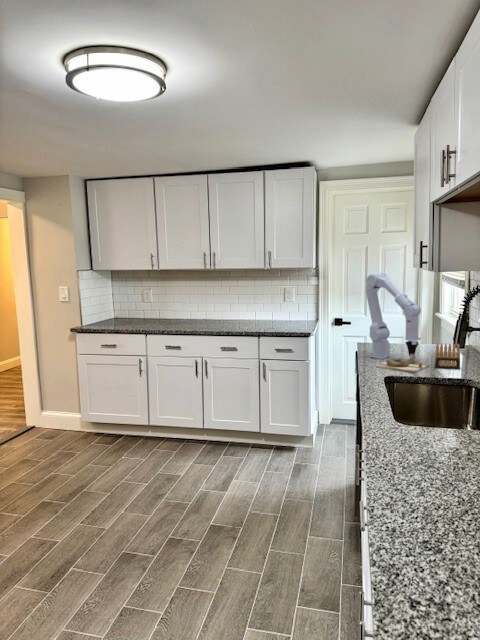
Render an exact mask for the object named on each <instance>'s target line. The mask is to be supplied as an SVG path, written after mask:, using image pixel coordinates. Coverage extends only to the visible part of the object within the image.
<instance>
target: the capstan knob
mask: <svg viewBox="0 0 480 640" xmlns="http://www.w3.org/2000/svg"><path fill="white" fill-rule="evenodd" d="M415 354H416V353H415ZM415 354H410V356H409V359H405V358H389V359H387V360H386V361H387V365H390V366H397V367H402V366H408V365H409V362H411V363H414V362H415V357H416V356H415ZM415 363H416V362H415Z"/></svg>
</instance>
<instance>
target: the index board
mask: <svg viewBox="0 0 480 640" xmlns="http://www.w3.org/2000/svg"><path fill="white" fill-rule="evenodd" d="M375 367H376V368H377V369H383V370H391V371H396V372H397V371H398V372H402V373H408V374H416V373H418V372H421V371H422V370H426V369H427V368H430V364H427V363H423V362H414V363H411V362H409V365H408V366H402V367H397V366H390V365H387V360H386V361H383V362H381V363H378V364H376V365H375Z"/></svg>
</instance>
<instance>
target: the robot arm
mask: <svg viewBox="0 0 480 640" xmlns="http://www.w3.org/2000/svg"><path fill="white" fill-rule="evenodd" d="M365 283H366V286H365V293H366V294H365V295H366V301H367V304H368V309H369V315H370V319H371V325H370V326H369V338H370V339H371V341H372V344H371V345H372V349H371V351H372V354H371V355H369V356H368V357H369V358H372V357H373V359H380V360H383V359H386V358H389V357H392V354H391V350H390V349H391V343H390V342H389V340H388V338H389V337H390V334H391V332H390V329H389V328H388V325H387V323H386V322H384V320H383V316H382V310H381V305H380V300H379V296H378V292H379V290H380V289H381V288H383V289H385V290H386V291H387V292H388V293H390V294H391V296H393V298H394V302H395V303H396V304H397V305H398V306H399V307H400V308H401V309H402V310H403V311H402V312H403V315H404V317H405V337H404V339H405V340H406V341H405V344H406V347H407V352H408V356H409V357H410V354H416V350H417V347H418V346H419V342H418V341H419V340H421V339H422V338H421V337H419V315H420V314H421V313H422V308H421V306H420V305H419V304H418V303H417V304H416V303H415V302H414V301H412V300H411V299H410V298H409V297H408V294H405V293H401V292H400V291H399V289H398V288H396V286H395V285H394V284H393V283H392V281H391V280H390V277H389V276H388V275H387V274H386V273H383V272H381V273H371V274H369V275H368V276H367V277H366V279H365Z"/></svg>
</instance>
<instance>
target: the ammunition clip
mask: <svg viewBox="0 0 480 640" xmlns="http://www.w3.org/2000/svg"><path fill="white" fill-rule="evenodd" d="M435 346H436V347H435V351H434V352H435V353H434V356H435V357H434V359H435V360H434V369H439V370H442V369H443V370H461V352H460V351H461V350H460V348H461V346H460V344H459V343H457V345H456V344H455V343H453V345H451V343H449V344H448V346H447V342H446V343H445V344H444V345H443V343H442V342H441V343H440V346H439V343H438V342H437V343H436V345H435Z"/></svg>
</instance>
